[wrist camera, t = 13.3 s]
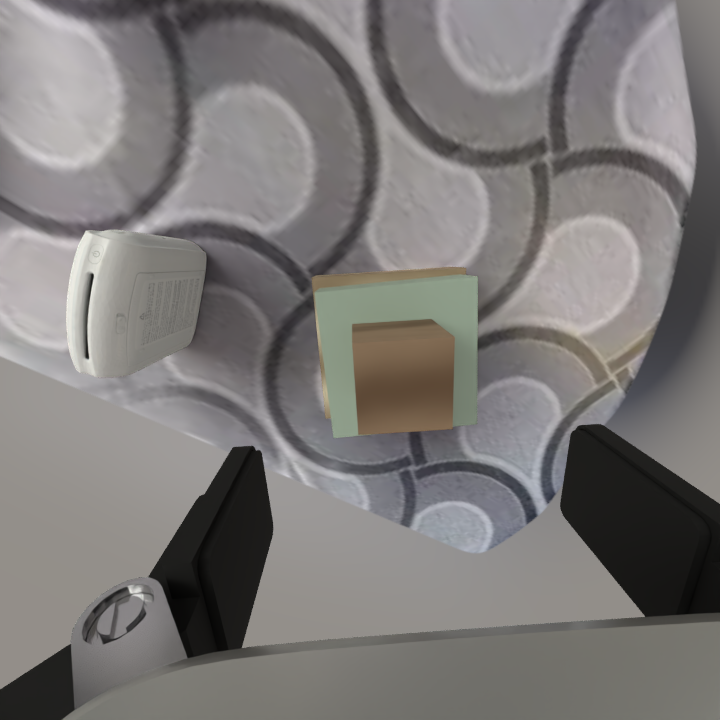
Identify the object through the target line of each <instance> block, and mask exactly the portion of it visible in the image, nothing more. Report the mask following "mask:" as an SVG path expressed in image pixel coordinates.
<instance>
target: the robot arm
mask: <svg viewBox="0 0 720 720" xmlns="http://www.w3.org/2000/svg"><path fill="white" fill-rule="evenodd" d="M560 507H561V511H562V514H563V516H564V517H565V519H566V520H567V521H568V522H569V524H570V525H571V526H572V527H573V528H574V530H575V531H576V532H577V533H578V535H579V536H580V537H581V538H582V540H583V541H584V542H585V543H586V544H587V546H588V547H589V548H590V549H591V551H593V553H594V554H595V555H596V556H597V558H598V559H599V560H600V562H601V563H602V564H603V565H604V566H605V568H606V569H607V570H608V571H609V573H610V574H611V575H612V576H613V577H614V579H615V580H616V581H617V582H618V584H620V586H621V587H622V588H623V590H624V591H625V592H626V593H627V595H628V596H629V597H630V598H631V599H632V601H633V602H634V603H635V604H636V605H637V607H638V608H639V609H640V610H641V612H642V613H643V614H644V615H645V617H638V618H622V619H606V620H590V621H576V622H562V623H546V624H532V625H517V626H503V627H489V628H475V629H462V630H461V629H460V630H446V631H433V632H420V633H407V634H395V635H382V636H381V635H380V636H368V637H354V638H341V639H328V640H317V641H307V642H296V643H286V644H275V645H265V646H255V647H247V648H242V645H243V641H244V637H245V634H246V630H247V626H248V623H249V619H250V616H251V612H252V608H253V605H254V601H255V598H256V594H257V590H258V586H259V583H260V579H261V576H262V572H263V568H264V565H265V561H266V557H267V554H268V550H269V547H270V543H271V539H272V535H273V520H272V515H271V508H270V501H269V496H268V489H267V483H266V477H265V471H264V464H263V458H262V453H261V451H260V450H258V451H256V450H255V448H254V446H244V447H233V448H232V450H231V451H230V453H229V455H228V456H227V458H226V460H225V462H224V463H223V465H222V466H221V468H220V470H219V471H218V473H217V475H216V476H215V478H214V479H213V481H212V483H211V485H210V486H209V488H208V489H207V491H206V493H205V494H204V495H201V496H199V498H198V499H197V500H196V501H195V503H194V505H193V506H192V508H191V509H190V511H189V513H188V514H187V516H186V517H185V519H184V521H183V522H182V524H181V526H180V527H179V529H178V530H177V532H176V533H175V535H174V537H173V538H172V540H171V541H170V543H169V545H168V546H167V548H166V549H165V551H164V553H163V554H162V556H161V558H160V559H159V561H158V562H157V564H156V565H155V567H154V569H153V570H152V572H151V573H150V575H149V577H146V578H145V577H139V578H135V579H131V580H127V581H125V582H123V583H121V584H118V585H116V586H114V587H112V588H111V589H109V590H108V591H106V592H105V593H103V594H102V595H100V596H99V597H98V598H97V599H96V600H95V601H94V602H92V603H91V604H90V605H89V606H88V607H87V609H86V610H85V611H84V612H83V613H82V614H81V616H80V617H79V619H78V620H77V622H76V624H75V626H74V628H73V631H72V636H71V644H70V645H68V646H66V647H65V648H63V649H62V650H60V651H59V652H57V653H56V654H54V655H53V656H51V657H50V658H48V659H47V660H45V661H43V662H42V663H40V664H39V665H37V666H36V667H34V668H33V669H31V670H30V671H28V672H27V673H25V674H23V675H22V676H20V677H19V678H17V679H16V680H14V681H13V682H11V683H10V684H8V685H7V686H5V687H3V688H2V689H0V720H720V504H719V503H717V502H716V501H714V500H713V499H711V498H710V497H709V496H707V495H706V494H704V493H703V492H701V491H700V490H698V489H697V488H695V487H694V486H692V485H691V484H689V483H688V482H686V481H685V480H683V479H682V478H680V477H679V476H677V475H676V474H674V473H673V472H672V471H670V470H669V469H667V468H666V467H664V466H663V465H661V464H660V463H658V462H657V461H655V460H654V459H652V458H651V457H649V456H648V455H646V454H645V453H643V452H642V451H640V450H639V449H637V448H636V447H634V446H633V445H631V444H630V443H628V442H627V441H625V440H624V439H622V438H621V437H620V436H618V435H617V434H615V433H614V432H612V431H611V430H609V429H608V428H606V427H605V426H603V425H601V424H593V425H580V426H578V427H577V428H576V430H575V431H573V432H572V433H571V436H570V443H569V449H568V456H567V463H566V469H565V476H564V483H563V489H562V496H561V503H560Z"/></svg>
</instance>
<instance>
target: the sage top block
mask: <svg viewBox="0 0 720 720" xmlns="http://www.w3.org/2000/svg"><path fill="white" fill-rule="evenodd" d="M315 301H316V308H317V316H318V323H319V331H320V339H321V346H322V354H323V361H324V369H325V377H326V384H327V392H328V399H329V407H330V415H331V422H332V430H333V437H334V438H341V437H351V436H362V435H358V423H357V408H356V393H355V378H354V364H353V349H352V324H359V323H375V322H391V321H407V320H423V319H432V320H433V321H435V322H436V323H437V324H439V325H440V326H441V327H443V328H444V329H445V330H446V331H448V332H449V333H450V334H452V335H453V336H454V337H455V352H454V392H453V426H464V425H474V424H477V342H478V276H470V275H462V274H458V275H448V276H438V277H428V278H418V279H408V280H398V281H388V282H378V283H367V284H357V285H347V286H337V287H327V288H319V289H318V290H317V291H316V292H315ZM368 435H372V434H368Z"/></svg>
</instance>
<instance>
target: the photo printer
mask: <svg viewBox="0 0 720 720" xmlns="http://www.w3.org/2000/svg"><path fill="white" fill-rule="evenodd" d="M206 261H207V257H206V252H204V251H202V249H201V248H200V247H199V246H198V245H197V244H195V243H193V242H191V241H189V240H184V239H178V238H171V237H165V236H157V235H151V234H144V233H137V232H130V231H122V230H106V231H94V230H88V231H86V232H85V234H84V236H83V238H82V240H81V241H80V244H79V246H78V249H77V251H76V254H75V258H74V261H73V266H72V270H71V275H70V280H69V287H68V296H67V309H66V326H67V340H68V346H69V351H70V355H71V358H72V361H73V363H74V366H75V368H76V370H77V371H79V372H80V373H85V374H91V375H93V376H95V377H98V378H114V377H122V376H127V375H130V374H133V373H135V372H137V371H139V370H141V369H143V368H145V367H147V366H149V365H151V364H153V363H155V362H157V361H158V360H161V359H163V358H165V357H167V356H169V355H171V354H173V353H175V352H177V351H179V350H181V349H183V348H185V347H187V346H188V345H189V344H190V343H191V341H192V338H193V336H194V332H195V328H196V324H197V319H198V313H199V308H200V302H201V297H202V291H203V285H204V280H205V272H206Z"/></svg>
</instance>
